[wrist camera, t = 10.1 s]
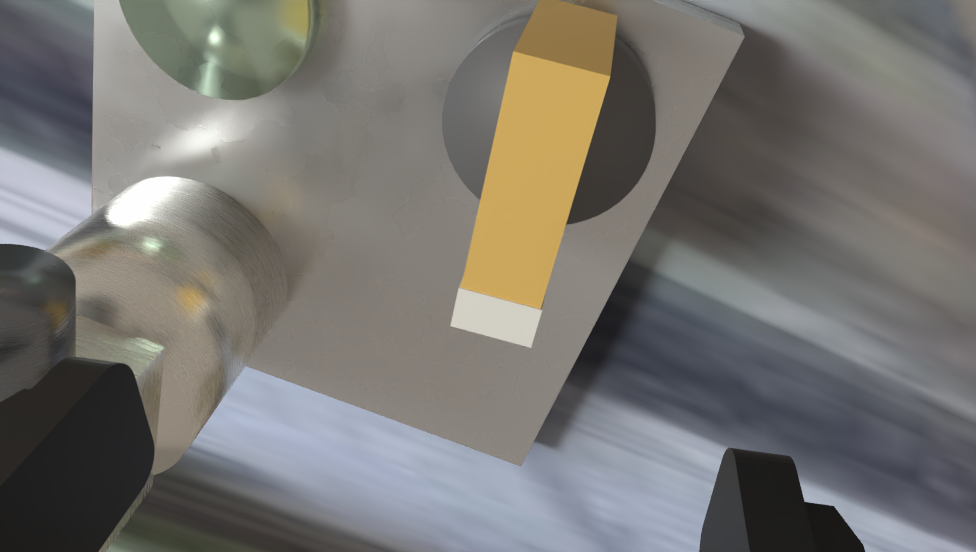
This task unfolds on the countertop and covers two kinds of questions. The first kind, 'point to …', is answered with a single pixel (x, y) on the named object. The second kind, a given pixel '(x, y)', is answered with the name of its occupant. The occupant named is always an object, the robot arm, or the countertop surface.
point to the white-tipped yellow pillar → (541, 152)
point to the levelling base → (319, 214)
